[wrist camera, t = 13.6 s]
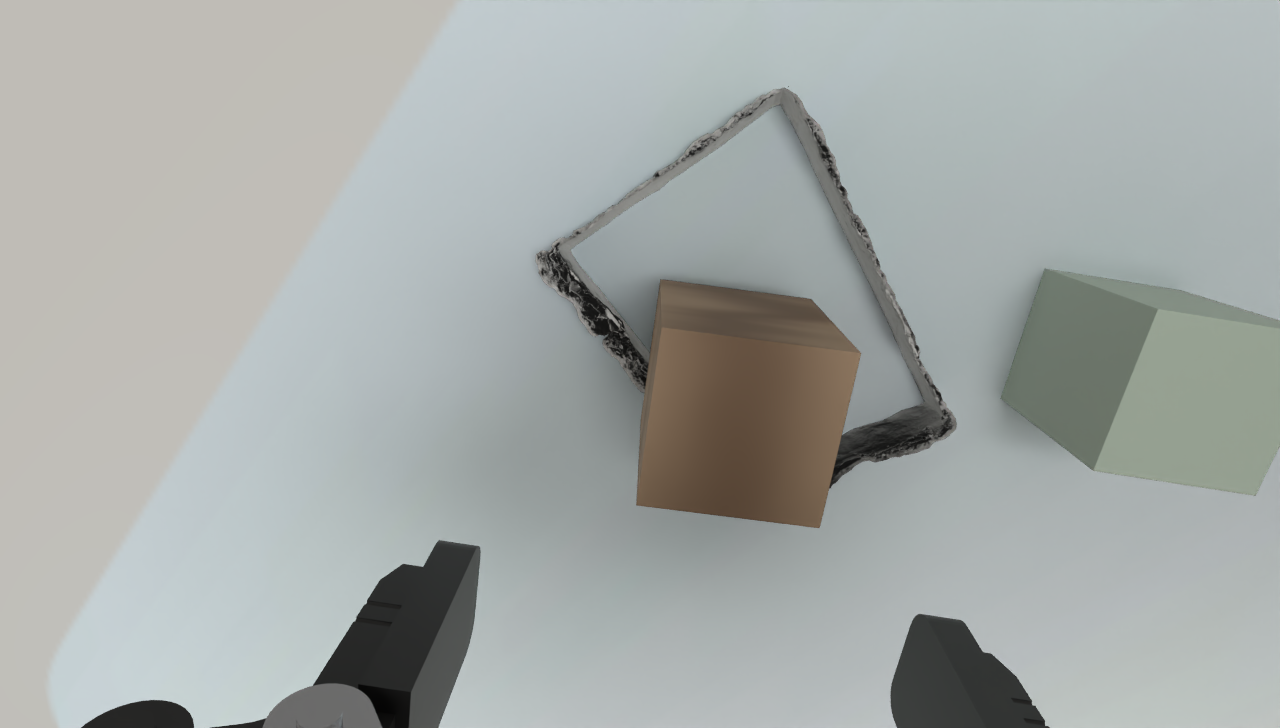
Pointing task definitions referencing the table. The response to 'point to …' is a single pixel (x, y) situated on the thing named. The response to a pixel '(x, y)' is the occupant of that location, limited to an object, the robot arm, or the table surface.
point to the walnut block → (742, 404)
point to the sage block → (1150, 381)
